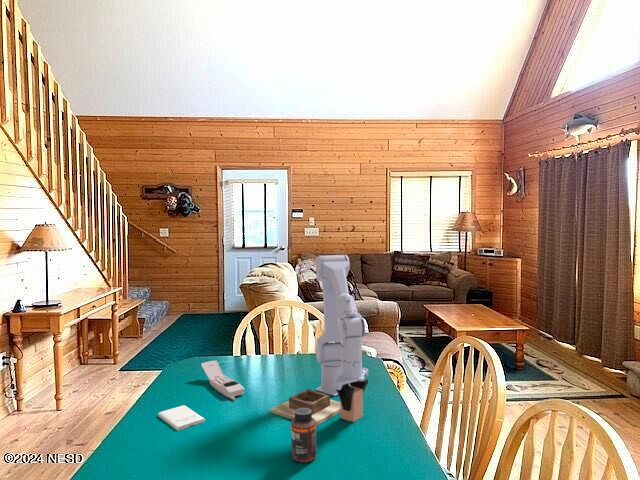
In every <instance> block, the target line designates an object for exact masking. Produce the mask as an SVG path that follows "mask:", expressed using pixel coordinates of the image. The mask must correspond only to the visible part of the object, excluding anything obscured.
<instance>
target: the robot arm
mask: <svg viewBox="0 0 640 480" xmlns="http://www.w3.org/2000/svg"><path fill="white" fill-rule="evenodd" d="M315 260H316V261H315V276H316V280H317V282H320V283H321V286H322V297H323V298H322V299H323V323H324V324H323V325H324V326H323V327H324V332H323V333H322V334H321V335H320V336H319V337H318V338H316V346H315V356H316V357H315V358H316V361H317V362H318V363H319V364H321V365H320V370H321V371H320V372H321V377H320V378H321V379H320V380H321V382H320V383H321V386H319V387H317V388H315V391H316V392H319V393H323V394H326V395H330V396H333V397H336V396H337V395H338V396H339V399H340V402H341V404H342V407H343V410H346V411H350V409H351V400H352V395H353V392H354V390H355V388H352V387H350V386H354V387H358V388H361V389H363V393H364V392H365V390H366V387H367V386H368V384H369V379H368V378H366V377H368V376H369V368H366V367H363V359H362V358H363V356H362V355H363V353H362V352H363V351H362V349H363V347H362V346H363V344H362V341H363V339H362V338H364V337H365V334H366V325H365V321H364V317H363V316H362V315H361V313H359V312H358V308H357V305H356V301H355V298H354V296H353V295H351V294H350V292H349V287H348V286H349V285H348V281H347V280H348V279H347V277H348V275H349V271H350V266H351V263H350V258H349V256H348V255H347V254H336V255H333V254H332V255H328V254H327V255H318V256H317V257H316V259H315ZM349 385H350V386H349Z"/></svg>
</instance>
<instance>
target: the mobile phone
mask: <svg viewBox="0 0 640 480" xmlns="http://www.w3.org/2000/svg"><path fill="white" fill-rule="evenodd" d="M201 368H202V369H203V370H204V372H205V375H206V376H207V379H208V380H209V384H210V385H211V386H212V388H214V389H215V390H216V391H218V392H219V393H220V394H221V395H223V396H225V397H226V398H229V399H231V400H232V401H236V397H237V396H241V395H244V394H245V387H244V386H243V385H241V383H239V381H236V380H234V379H231V378H230V377H228V376H226V374H224V372H223V370H222V369H221V367H220V364H219V362H218V361H217V359H215V360H209V361H206V362H202V363H201Z"/></svg>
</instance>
